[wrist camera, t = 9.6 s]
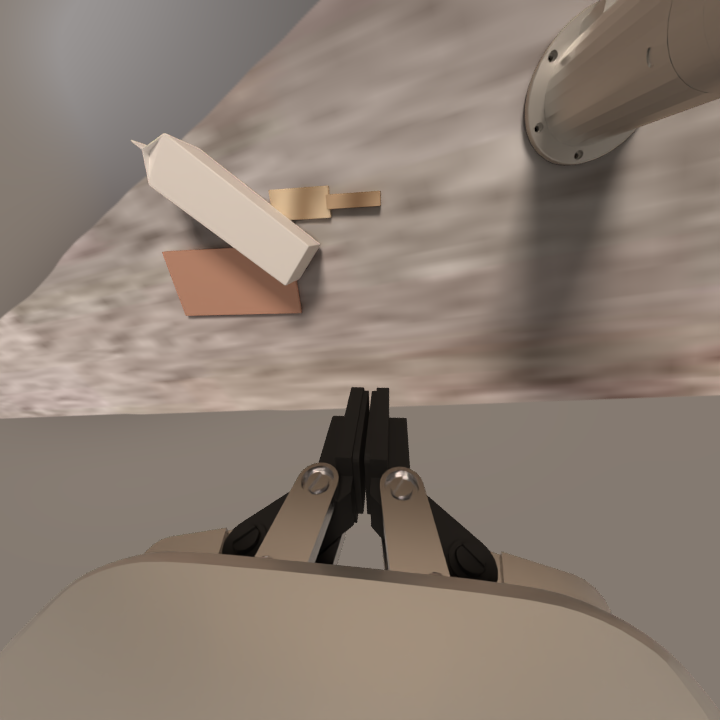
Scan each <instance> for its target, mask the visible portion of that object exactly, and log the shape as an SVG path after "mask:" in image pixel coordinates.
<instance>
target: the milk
mask: <svg viewBox="0 0 720 720" xmlns="http://www.w3.org/2000/svg"><path fill="white" fill-rule="evenodd" d="M131 142H133V143H134V144H135V145H136V146H138V147H139V148H140V149H141V150H142V153H143V158H144V162H145V167H146V173H147V178H148V183H149V185H150V186H151V187H152V188H153V189H155V190H156V191H157V192H159V193H160V194H162V195H163V196H164V197H166V198H167V199H168V200H170V201H171V202H172V203H174V204H175V205H176V206H178V207H179V208H181V209H182V210H183V211H185V212H186V213H187V214H189V215H190V216H191V217H193V218H194V219H195V220H197V221H198V222H200V223H201V224H202V225H204V226H205V227H206V228H208V229H209V230H210V231H212V232H213V233H214V234H216V235H217V236H218V237H220V238H221V239H223V240H224V241H225V242H227V243H228V244H229V245H231V246H232V247H233V248H235V249H236V250H237V251H239V252H240V253H242V254H243V255H244V256H246V257H247V258H248V259H250V260H251V261H252V262H254V263H255V264H256V265H258V266H259V267H261V268H262V269H263V270H265V271H266V272H267V273H269V274H270V275H271V276H273V277H274V278H275V279H277V280H278V281H279V282H281V283H282V284H284V285H285V286H286V285H288V284H290V283H292V282H294V281H296V280H298V279H300V278H301V276H302V274H303V273H304V271H305V269H306V268H307V266H308V265H309V263H310V261H311V260H312V258H313V256H314V255H315V253H316V251H317V250H318V248H319V247H320V243H318V242H317V241H316V240H315V239H313V238H312V237H311V236H310V235H308V234H307V233H306V232H305V231H303V230H302V229H301V228H300V227H298V226H297V225H296V224H294V223H293V222H292V221H291V220H289V219H288V218H287V217H286V216H284V215H283V214H282V213H281V212H279V211H278V210H277V209H275V208H274V207H273V206H272V205H270V204H269V203H268V202H267V201H265V200H264V199H263V198H262V197H260V196H259V195H258V194H257V193H255V192H254V191H253V190H251V189H250V188H249V187H248V186H246V185H245V184H244V183H243V182H241V181H240V180H239V179H238V178H236V177H235V176H234V175H233V174H231V173H230V172H229V171H227V170H226V169H225V168H224V167H222V166H221V165H220V164H219V163H217V162H216V161H215V160H214V159H212V158H211V157H210V156H209V155H207V154H206V153H205V152H203V151H202V150H201V149H200V148H197V147H195V146H193V145H191V144H188V143H186V142H184V141H182V140H179V139H177V138H175V137H172V136H170V135H168V134H165V133H164V134H162V135H161V136H159V137H158V138H156V139H155V140H154V141H152V142H151V143H150V144H148V145H145V144H142V143H139V142H136V141H133V140H131Z"/></svg>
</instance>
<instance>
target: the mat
mask: <svg viewBox="0 0 720 720" xmlns="http://www.w3.org/2000/svg"><path fill="white" fill-rule="evenodd" d="M162 253H163V256H164V259H165V261H166V264H167V267H168V269H169V272H170V275H171V277H172V280H173V283H174V285H175V288H176V291H177V293H178V296H179V299H180V301H181V304H182V307H183V309H184V312H185V315H186V316H196V315H237V314H278V313H301V312H302V308H301V302H300V296H299V290H298V284H297V280H296V281H294V282H292V283H290V284H288V285H286V286H285V285H284V284H282V283H281V282H279V281H278V280H277V279H275V278H274V277H273V276H271V275H270V274H269V273H267V272H266V271H265V270H263V269H262V268H261V267H259V266H258V265H256V264H255V263H254V262H252V261H251V260H250V259H248V258H247V257H246V256H244V255H243V254H242V253H240V252H239V251H237V250H236V249H235V248H220V249H202V250H184V251H167V252H162Z"/></svg>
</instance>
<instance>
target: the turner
mask: <svg viewBox="0 0 720 720" xmlns="http://www.w3.org/2000/svg"><path fill="white" fill-rule="evenodd" d="M268 191H269V196H270V202H271V205H272V206H273V207H274V208H275V209H277V210H278V211H279V212H281V213H282V214H283V215H284V216H286V217H287V218H288V219H289V220H299V219H316V218H331V209H341V208H356V207H372V206H381V191H371V192H357V193H343V194H330V195H329V186H316V187H304V188H291V189H278V190H268Z"/></svg>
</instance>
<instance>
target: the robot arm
mask: <svg viewBox="0 0 720 720" xmlns="http://www.w3.org/2000/svg"><path fill="white" fill-rule="evenodd" d="M548 57H549V58H550V59H551V61H550V62H549V61H548ZM719 98H720V0H600V1H598V2H596V3H594V4H593V5H591V6H589V7H587V8H586V9H584V10H583V11H582V12H581V13H579V14H578V15H577V16H576V17H574V18H573V19H572V20H571V21H570V22H569V23H568V24H567V25H566V26H565V27H564V28H563V29H562V30H561V31H560V33H559V34H558V35H557V36H556V37H555V39H554V40H553V41H552V42H551V43H550V45H549V46H548V48H547V49H546V51H545V52H544V54H543V56H542V57H541V59H540V60H539V63H538V65H537V67H536V69H535V71H534V73H533V75H532V78H531V82H530V85H529V88H528V91H527V97H526V103H525V125H526V131H527V135H528V137H529V140H530V143H531V144H532V146H533V147H534V149H535V150H536V152H537V153H538V154H539V155H541V156H542V157H543V158H544V159H546V160H548V161H550V162H552V163H555V164H560V165H576V164H581V163H585V162H588V161H591V160H594V159H597V158H599V157H601V156H603V155H605V154H607V153H609V152H610V151H612V150H613V149H614V148H616V147H617V146H619V145H620V144H621V143H623V142H624V141H625V140H626V139H627V138H628V137H629V136H630V135H631V134H632V133H633V132H634V131H635V130H636V129H637V128H638V127H641V126H644V125H646V124H649V123H652V122H655V121H658V120H660V119H663V118H666V117H669V116H671V115H674V114H677V113H680V112H683V111H685V110H688V109H691V108H694V107H696V106H699V105H702V104H705V103H707V102H710V101H713V100H716V99H719ZM535 127H536V128H537V132H535V131H534V128H535ZM575 154H576V158H574V155H575ZM365 492H366V498H367V499H366V500H367V514H371V526H372V528H373V529H374V530H375V531H376V532H377V534H378V535H379V536H380V537H381V546H382V556H383V566H384V570H381V569H371V568H360V567H351V566H341V565H337V564H338V560H339V557H340V553H341V550H342V546H343V543H344V540H345V534H346V531H347V530H348V529H349V528H351V527H352V526H353V525H354V522H355V523H357V519H358V513H360V514H363V511H364V502H365V501H364V500H365ZM0 720H720V710H719V709H718V708H717V707H716V705H715V704H714V703H713V701H712V700H711V699H710V697H709V696H708V695H707V693H706V692H705V691H704V690H703V689H702V687H701V686H700V685H699V684H698V683H697V681H696V680H695V679H694V678H693V677H692V675H691V674H690V673H689V672H688V671H687V670H686V669H685V667H684V666H683V665H682V664H681V663H680V662H679V661H678V660H676V658H675V657H674V656H673V655H672V654H671V653H669V652H668V651H667V650H666V649H665V648H664V647H663V646H661V645H660V644H659V643H657V642H656V641H654V640H653V639H652V638H651V637H649V636H648V635H646V634H645V633H643V632H642V631H640V630H639V629H637V628H635V627H634V626H632V625H631V624H629V623H627V622H626V621H624V620H622V619H620V618H618V617H616V616H614V615H613V614H612V613H611V610H610V609H609V607H608V605H607V603H606V601H605V599H604V598H603V597H602V595H601V594H600V593H599V592H598V591H597V590H596V588H594V587H593V586H592V585H591V584H589V583H588V582H587V581H586V580H584V579H582V578H580V577H578V576H576V575H573V574H571V573H567V572H564V571H561V570H558V569H555V568H552V567H548V566H545V565H542V564H539V563H536V562H533V561H530V560H527V559H523V558H520V557H517V556H514V555H510V554H508V553H504V552H501V555H500V554H497V553H494V552H490V551H489V550H488V549H487V547H486V546H485V545H484V544H483V543H482V542H480V541H479V540H478V539H477V538H476V537H475V536H473V535H472V534H471V533H470V532H469V531H468V530H467V529H465V528H464V527H463V526H462V525H461V524H460V523H458V522H457V521H456V520H455V519H454V518H453V517H451V516H450V515H449V514H448V513H447V512H446V511H444V510H443V509H442V508H441V507H440V506H439V505H438V504H436V503H435V502H434V501H433V500H432V499H431V498H430V497H428V496H427V494H426V490H425V487H424V484H423V481H422V479H421V477H420V476H419V475H418V474H417V473H416V472H415V471H413V470H411V469H410V462H409V448H408V433H407V419H406V418H389V388H377V391H372V396H371V404H370V411H369V391H364V388H363V387H352V388H351V392H350V396H349V400H348V404H347V408H346V413H345V416H333V417H332V420H331V423H330V427H329V430H328V433H327V437H326V440H325V443H324V447H323V450H322V453H321V457H320V460H319V463H314V464H311V465H309V466H307V467H306V468H305V469H303V470H302V471H301V473H300V474H299V476H298V477H297V479H296V481H295V483H294V485H293V487H292V488H291V490H290V492H289V493H287V494H285V495H284V496H282V497H281V498H279V499H278V500H276V501H274V502H273V503H271V504H270V505H268V506H267V507H265V508H264V509H262V510H260V511H259V512H257V513H256V514H254V515H253V516H251V517H250V518H248V519H246V520H245V521H243V522H242V523H240V524H239V525H238V526H237V527H235V528H234V529H233V530H227V528H221V529H215V530H208V531H202V532H197V533H190V534H183V535H177V536H171V537H167V538H164V539H161V540H160V541H158V542H157V543H155V544H154V545H152V546H151V547H150V548H149V549H148V550H147V551H146V552H145V553H144V554H140V555H135V556H132V557H128V558H124V559H121V560H117V561H115V562H111V563H108V564H106V565H103V566H101V567H98V568H96V569H94V570H92V571H90V572H88V573H86V574H84V575H83V576H81V577H79V578H78V579H76V580H74V581H73V582H72V583H70V584H69V585H68V586H67V587H65V588H64V589H63V590H61V592H59V593H58V594H57V595H56V596H55V597H54V598H52V599H51V600H50V601H49V602H48V603H47V604H46V605H45V606H44V607H43V608H42V609H41V610H40V611H39V612H38V613H37V614H36V615H35V616H34V617H33V618H32V619H31V620H30V621H29V622H28V623H27V624H26V625H25V626H24V627H23V628H22V629H21V631H19V632H18V633H17V634H16V635H15V637H14V638H13V639H12V640H11V641H10V642H9V643H8V644H7V645H6V646H5V647H4V648H3V649H2V650H1V652H0Z"/></svg>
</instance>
